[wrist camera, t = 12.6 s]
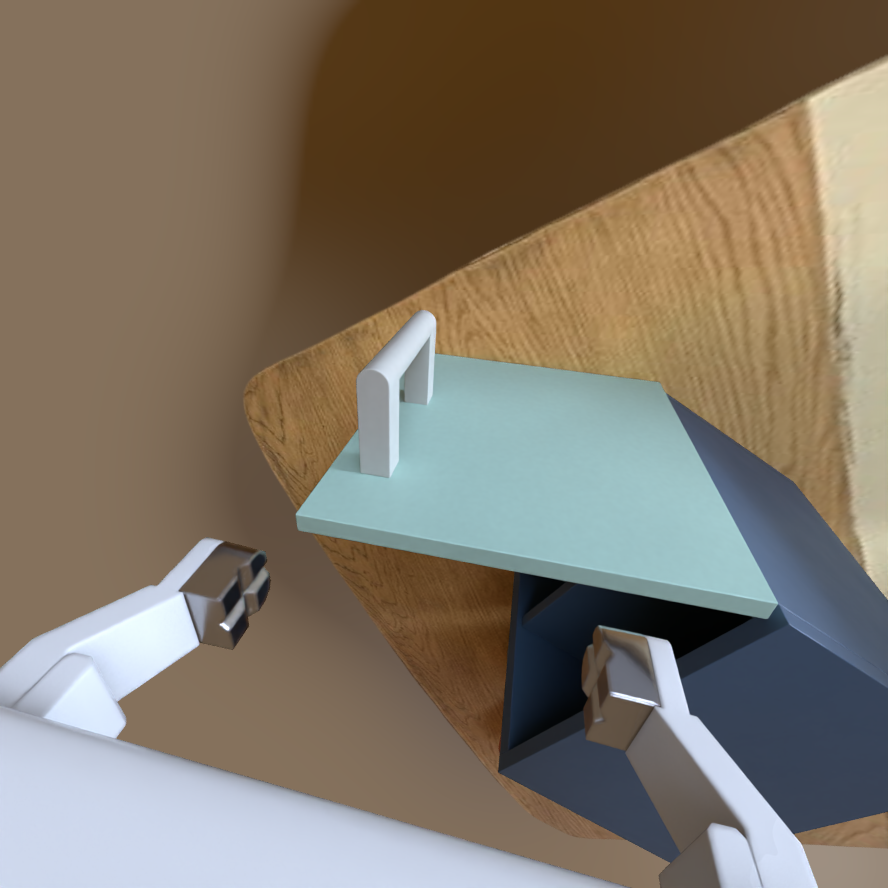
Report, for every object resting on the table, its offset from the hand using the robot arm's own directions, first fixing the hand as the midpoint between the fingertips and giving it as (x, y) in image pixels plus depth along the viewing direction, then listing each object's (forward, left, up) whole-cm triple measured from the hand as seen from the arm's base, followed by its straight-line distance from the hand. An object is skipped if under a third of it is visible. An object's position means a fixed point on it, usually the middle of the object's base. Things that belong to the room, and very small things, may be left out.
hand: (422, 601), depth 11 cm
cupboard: (+9, +21, -29) cm, 37 cm away
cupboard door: (+1, +3, -28) cm, 29 cm away
